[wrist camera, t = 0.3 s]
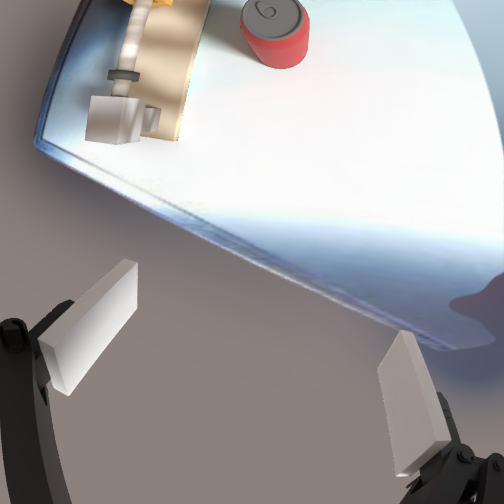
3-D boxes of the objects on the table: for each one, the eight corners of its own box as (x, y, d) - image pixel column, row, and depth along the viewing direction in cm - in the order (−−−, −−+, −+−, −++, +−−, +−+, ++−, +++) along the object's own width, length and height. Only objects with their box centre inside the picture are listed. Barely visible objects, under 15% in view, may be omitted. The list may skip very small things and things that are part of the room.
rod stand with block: (166, -38, 27) (128, -73, 16) (224, -39, 27) (199, -83, 16) (121, 132, 39) (67, 139, 28) (177, 140, 38) (132, 148, 27)
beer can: (281, 15, 30) (273, -26, 19) (318, 48, 31) (326, 16, 20) (243, 46, 32) (220, 15, 21) (280, 80, 33) (271, 59, 22)
